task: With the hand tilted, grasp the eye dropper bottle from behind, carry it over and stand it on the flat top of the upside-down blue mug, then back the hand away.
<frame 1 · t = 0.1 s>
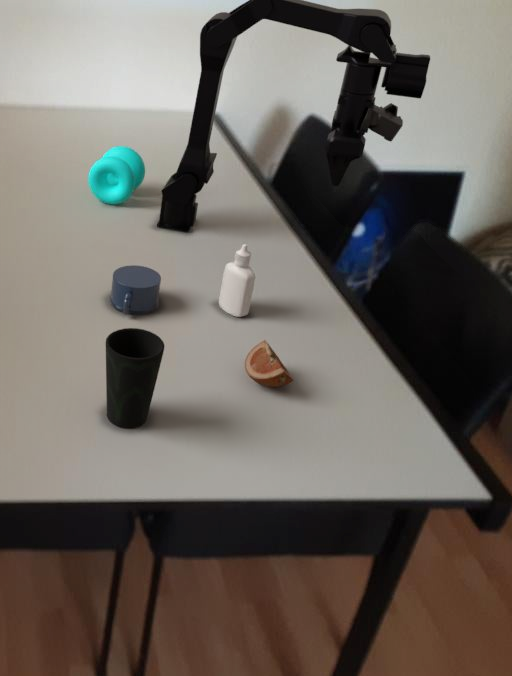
hand: (337, 177, 155), 15 cm above the table, tool pointing down, fingers open, 9 cm apart
cup: (126, 417, 117), on the table
donuts: (114, 198, 181), on the table
eye dropper bottle: (232, 310, 143), on the table
blue mug: (134, 302, 144), on the table
fruit slice: (266, 383, 125), on the table
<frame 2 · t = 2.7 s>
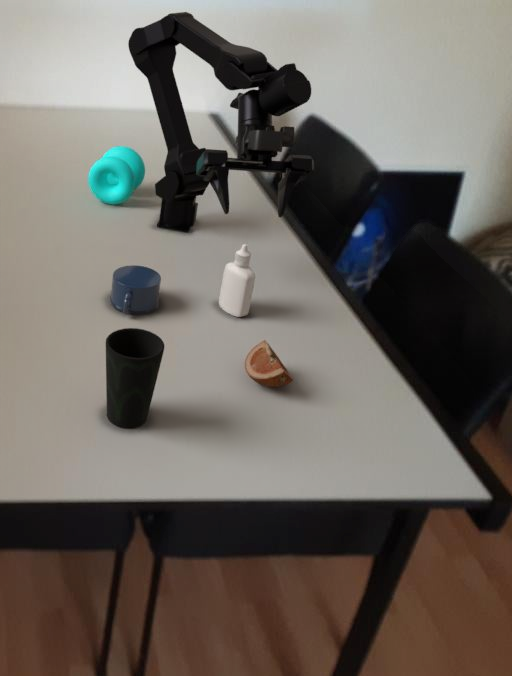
hand: (253, 215, 142), 13 cm above the table, tool tilted 40°, fingers open, 9 cm apart
nothing on the table moved.
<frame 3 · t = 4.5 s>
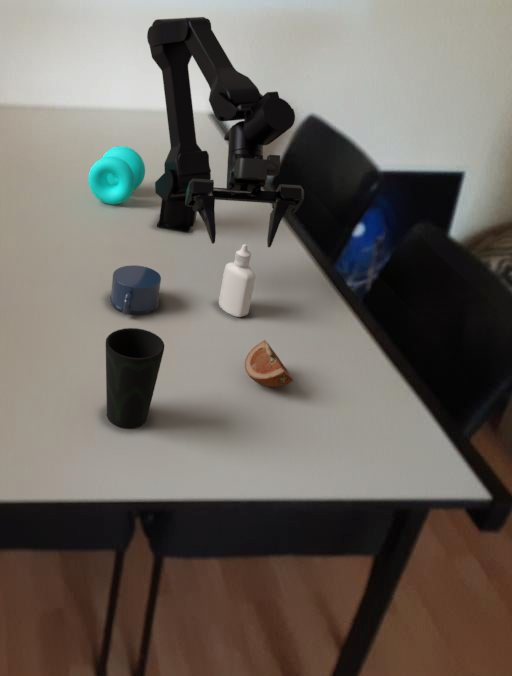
hand: (241, 244, 140), 10 cm above the table, tool tilted 45°, fingers open, 9 cm apart
nothing on the table moved.
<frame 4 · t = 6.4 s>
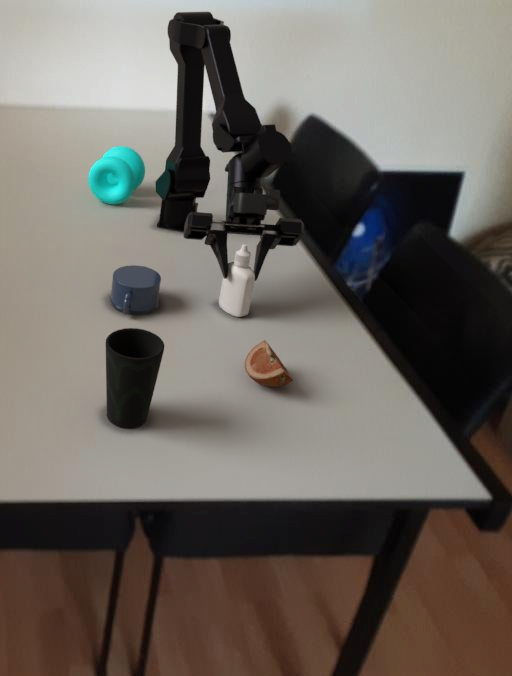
hand: (240, 279, 138), 7 cm above the table, tool tilted 45°, fingers closed on eye dropper bottle, 4 cm apart
eye dropper bottle: (232, 310, 143), on the table, touching gripper
everything else where it was.
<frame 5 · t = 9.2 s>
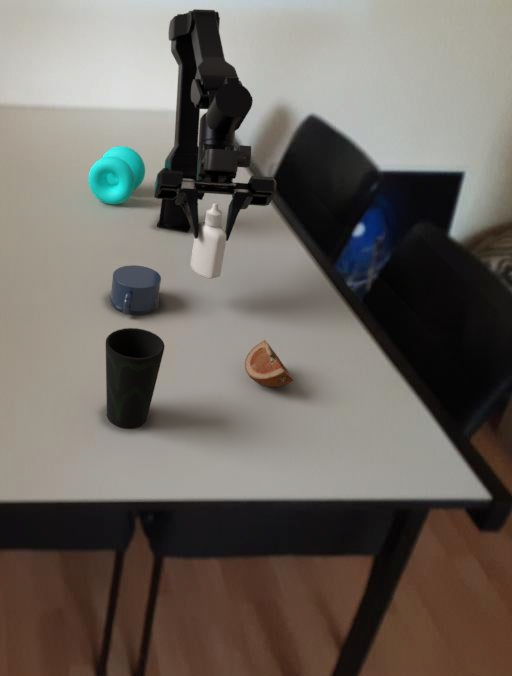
hand: (211, 239, 135), 13 cm above the table, tool tilted 45°, fingers closed on eye dropper bottle, 4 cm apart
eye dropper bottle: (204, 272, 140), point 6 cm above the table, touching gripper
everything else where it was.
when the fingers open (12 cm above the table, at t = 12.0 s): eye dropper bottle stays where it is, resting on blue mug.
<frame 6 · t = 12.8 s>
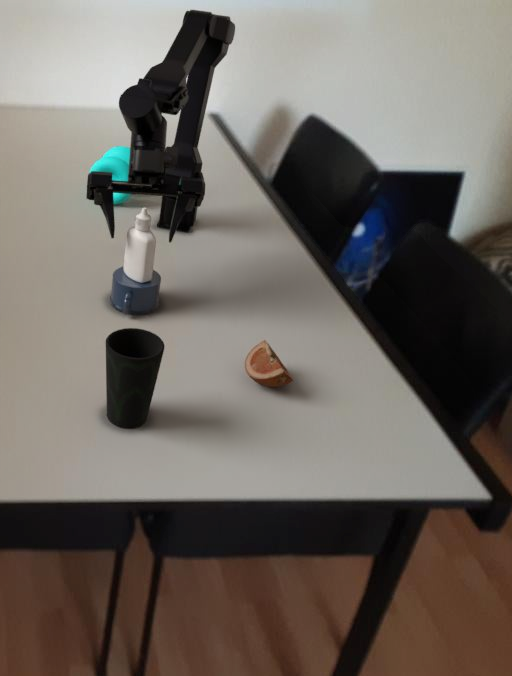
hand: (141, 239, 135), 12 cm above the table, tool tilted 45°, fingers open, 9 cm apart
eye dropper bottle: (137, 277, 141), point 5 cm above the table, touching blue mug
blue mug: (134, 302, 144), on the table, touching eye dropper bottle
everything else where it was.
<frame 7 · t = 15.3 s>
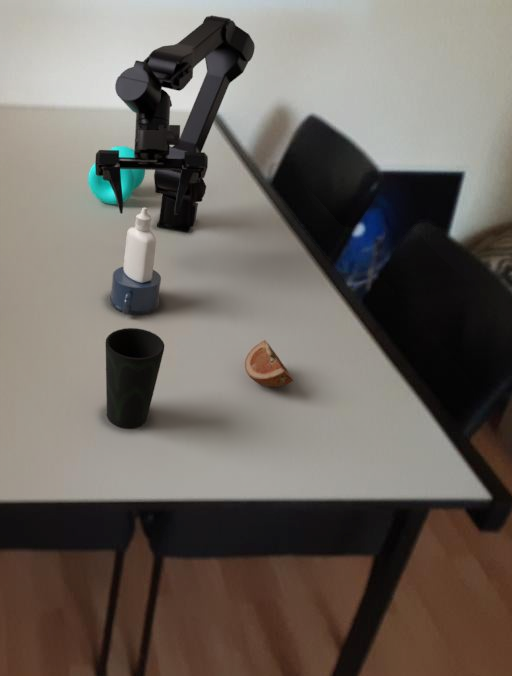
hand: (148, 213, 144), 13 cm above the table, tool tilted 40°, fingers open, 9 cm apart
nothing on the table moved.
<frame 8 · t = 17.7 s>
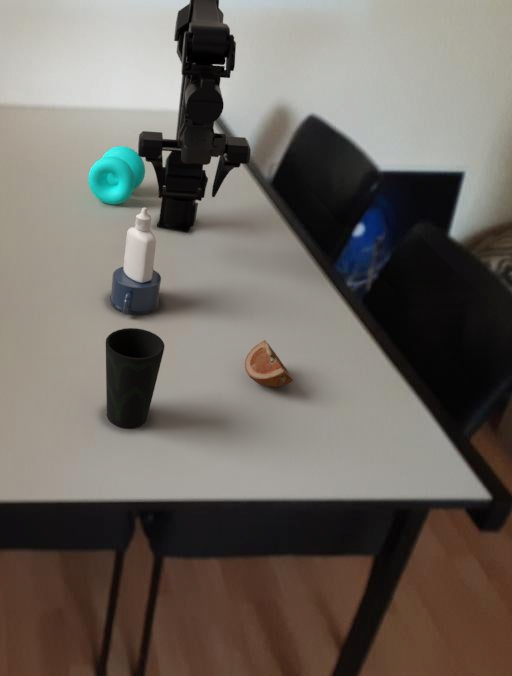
hand: (186, 194, 150), 13 cm above the table, tool pointing down, fingers open, 9 cm apart
nothing on the table moved.
at the end: eye dropper bottle 0.1 cm off-centre on the blue mug, point 4.8 cm above the blue mug's base; eye dropper bottle tilted 0°; the gripper is holding nothing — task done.
